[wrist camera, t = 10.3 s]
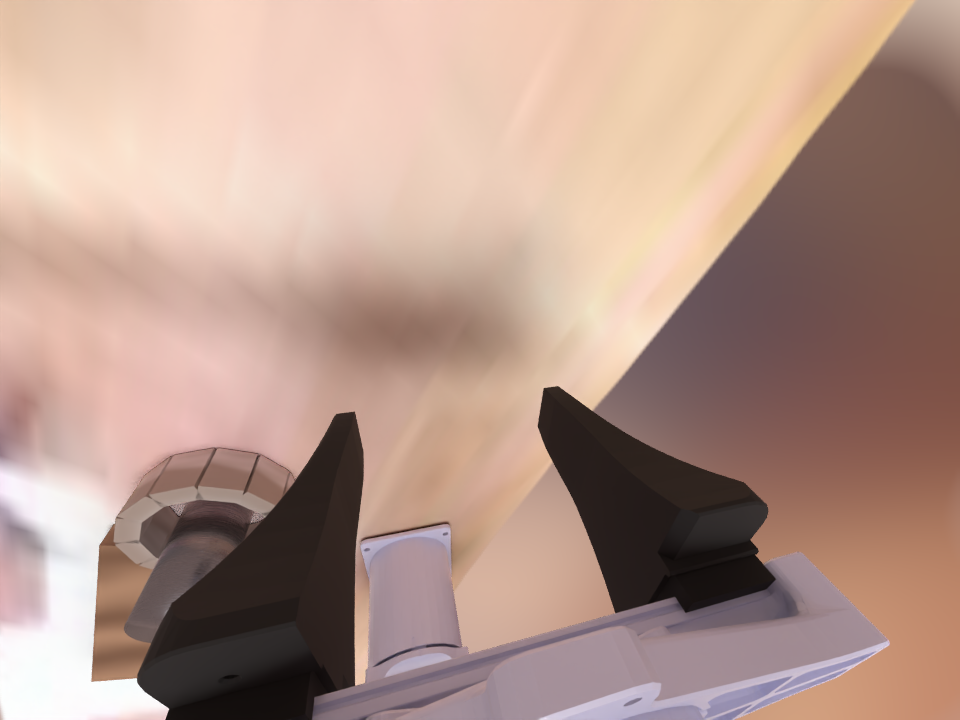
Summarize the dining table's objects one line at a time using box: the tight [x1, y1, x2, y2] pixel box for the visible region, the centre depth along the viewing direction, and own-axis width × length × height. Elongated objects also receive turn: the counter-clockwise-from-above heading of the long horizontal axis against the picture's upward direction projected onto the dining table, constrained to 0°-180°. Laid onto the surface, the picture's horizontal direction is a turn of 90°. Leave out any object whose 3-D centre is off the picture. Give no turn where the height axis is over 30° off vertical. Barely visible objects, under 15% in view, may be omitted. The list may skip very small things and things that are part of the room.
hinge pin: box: [124, 500, 254, 643], centre depth 22 cm, size 4×4×8 cm
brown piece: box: [91, 448, 295, 682], centre depth 28 cm, size 29×12×3 cm, turn 152°
